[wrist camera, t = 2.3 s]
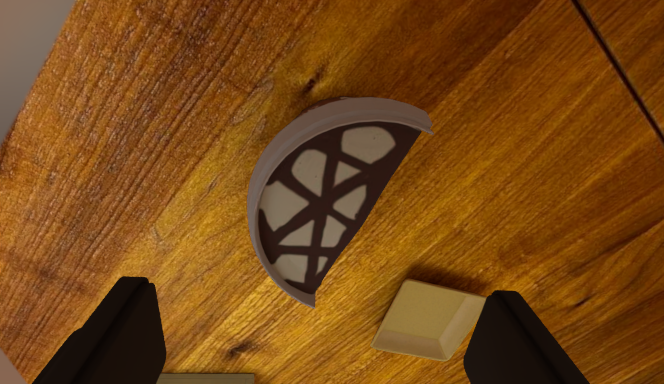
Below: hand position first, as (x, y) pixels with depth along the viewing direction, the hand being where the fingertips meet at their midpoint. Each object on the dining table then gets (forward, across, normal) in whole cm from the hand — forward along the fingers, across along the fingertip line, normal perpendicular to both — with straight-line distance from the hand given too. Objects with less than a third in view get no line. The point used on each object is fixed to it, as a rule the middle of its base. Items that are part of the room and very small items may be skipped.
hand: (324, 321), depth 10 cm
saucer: (+17, -12, +16) cm, 26 cm away
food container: (+17, 0, 0) cm, 17 cm away
